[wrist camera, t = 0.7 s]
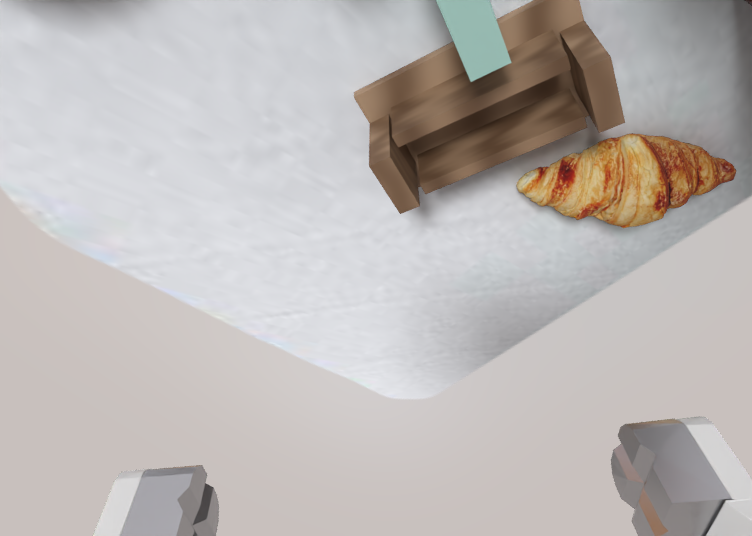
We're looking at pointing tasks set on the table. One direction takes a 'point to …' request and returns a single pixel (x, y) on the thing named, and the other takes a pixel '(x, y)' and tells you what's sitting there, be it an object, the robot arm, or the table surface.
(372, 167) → the wooden shelf
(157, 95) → the table surface
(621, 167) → the croissant
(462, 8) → the door panel
